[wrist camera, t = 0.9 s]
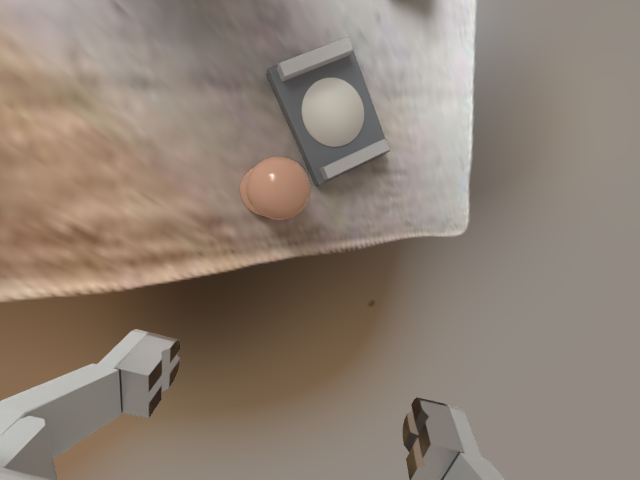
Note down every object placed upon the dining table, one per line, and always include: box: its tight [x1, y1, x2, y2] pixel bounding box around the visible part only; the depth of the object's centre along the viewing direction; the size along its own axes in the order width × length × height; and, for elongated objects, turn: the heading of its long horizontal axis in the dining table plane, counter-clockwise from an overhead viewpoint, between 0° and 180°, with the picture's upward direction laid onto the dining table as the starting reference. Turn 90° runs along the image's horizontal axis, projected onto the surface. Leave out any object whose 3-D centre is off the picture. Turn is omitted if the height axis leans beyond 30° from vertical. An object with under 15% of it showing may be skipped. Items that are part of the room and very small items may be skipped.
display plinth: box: [266, 36, 390, 186], centre depth 42 cm, size 16×12×4 cm
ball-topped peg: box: [240, 156, 311, 220], centre depth 36 cm, size 7×7×15 cm
